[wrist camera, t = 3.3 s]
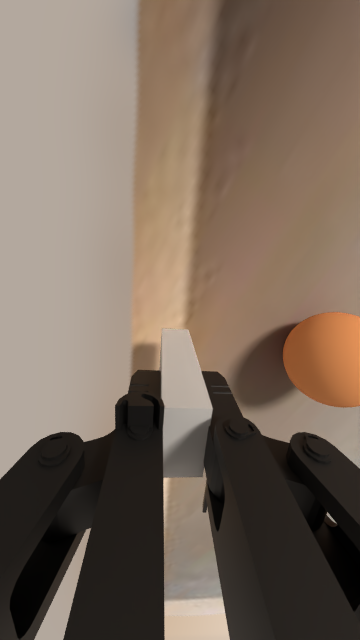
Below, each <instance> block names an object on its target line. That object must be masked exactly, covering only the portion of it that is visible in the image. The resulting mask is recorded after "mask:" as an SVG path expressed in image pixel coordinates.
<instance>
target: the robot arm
mask: <svg viewBox="0 0 360 640" xmlns="http://www.w3.org/2000/svg"><path fill="white" fill-rule="evenodd" d="M115 422H116V423H115V425H116V426H115V430H114V431H112V432H111V433H110V434H108V435H106V436H104V437H101V438H98V439H95V440H91V441H87V442H83V440H82V439H81V438H80V436H78V435H76V434H74V433H71V432H60V433H56V434H52V435H49V436H47V437H45V438H43V439H41V440H39V441H38V442H37V443H36V444H34V445H33V446H32V447H31V448H30V449H29V450H28V451H27V452H26V453H25V454H24V455H23V456H22V457H21V458H20V459H19V460H18V461H17V462H16V463H15V465H14V466H13V467H12V468H11V469H10V470H9V471H8V472H7V473H6V474H5V475H4V476H3V477H2V478H1V479H0V640H34V639H35V636H36V634H37V632H38V630H39V628H40V626H41V624H42V622H43V620H44V617H45V615H46V613H47V611H48V609H49V607H50V605H51V603H52V601H53V599H54V596H55V594H56V592H57V590H58V588H59V586H60V584H61V581H62V580H63V577H64V575H65V573H66V571H67V569H68V567H69V565H70V563H71V561H72V558H73V556H74V554H75V552H76V550H77V548H78V546H79V544H80V542H81V539H82V537H83V535H84V533H85V531H86V529H89V528H91V531H90V535H89V539H88V543H87V547H86V551H85V555H84V559H83V563H82V567H81V571H80V575H79V579H78V583H77V587H76V591H75V595H74V599H73V603H72V607H71V611H70V615H69V619H68V623H67V627H66V631H65V635H64V639H63V640H164V511H163V477H203V470H204V467H205V472H206V477H207V481H206V488H205V494H204V500H203V512H206V510H207V507H208V513H209V519H210V525H211V531H212V537H213V542H214V548H215V554H216V560H217V566H218V572H219V578H220V584H221V590H222V595H223V601H224V607H225V613H226V619H227V625H228V631H229V636H230V640H360V469H359V468H358V467H357V466H356V465H355V464H354V463H353V462H352V461H350V460H349V459H348V458H347V457H346V456H345V455H344V454H343V453H341V452H340V451H339V450H338V449H337V448H336V447H335V446H333V445H332V444H331V443H329V442H328V441H327V440H325V439H323V438H321V437H319V436H317V435H314V434H310V433H306V432H302V433H296V434H294V435H292V438H291V440H290V443H287V442H283V441H279V440H275V439H272V438H269V437H266V436H263V435H261V433H260V431H259V430H258V428H257V427H256V426H255V424H253V423H252V422H251V421H249V420H248V419H246V418H243V416H242V414H241V411H240V409H239V407H238V405H237V403H236V401H235V399H234V397H233V394H231V390H230V388H229V387H228V384H227V382H226V380H225V378H224V377H223V376H222V375H221V374H219V373H218V372H210V371H201V369H200V366H199V362H198V359H197V356H196V353H195V349H194V346H193V343H192V340H191V336H190V333H189V330H187V329H167V328H162V336H161V352H160V369H159V371H153V370H138V371H137V372H136V373H135V374H134V375H133V376H132V378H131V382H130V386H129V391H128V394H126V395H125V396H123V397H122V398H120V399H119V400H118V402H117V404H116V405H115ZM327 512H328V513H329V514H330V516H331V517H332V518H333V519H334V520H335V522H336V523H337V524H336V523H334V522H333V521H332V520H331V519H330V518H329V517H328V516H327V515H326V514H327Z"/></svg>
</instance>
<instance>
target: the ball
mask: <svg viewBox="0 0 360 640" xmlns="http://www.w3.org/2000/svg"><path fill="white" fill-rule="evenodd" d="M283 363H284V366H285V370H286V372H287V374H288V376H289V378H290V379H291V381H292V382H293V384H294V385H295V386H296V387H297V388H298V389H299V390H300V391H301V392H302V393H304V394H305V395H306V396H308V397H309V398H311V399H313V400H315V401H317V402H320V403H322V404H326V405H329V406H334V407H357V406H360V317H358V316H355V315H351V314H347V313H339V312H329V313H322V314H318V315H314V316H312V317H309V318H307V319H305V320H304V321H302V322H301V323H299V324H298V325H297V326H296V327H295V328H294V329H293V330H292V331H291V332H290V334H289V335H288V337H287V339H286V341H285V345H284V349H283Z"/></svg>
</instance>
